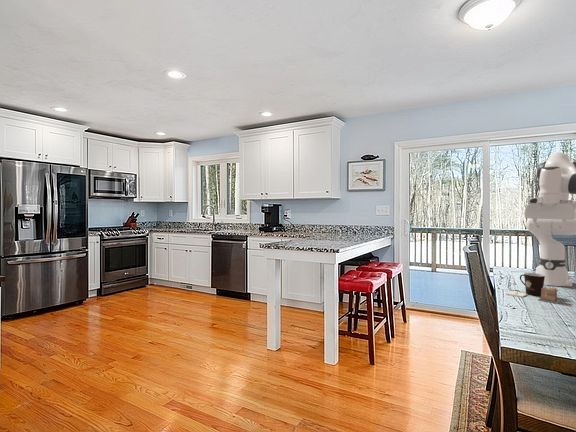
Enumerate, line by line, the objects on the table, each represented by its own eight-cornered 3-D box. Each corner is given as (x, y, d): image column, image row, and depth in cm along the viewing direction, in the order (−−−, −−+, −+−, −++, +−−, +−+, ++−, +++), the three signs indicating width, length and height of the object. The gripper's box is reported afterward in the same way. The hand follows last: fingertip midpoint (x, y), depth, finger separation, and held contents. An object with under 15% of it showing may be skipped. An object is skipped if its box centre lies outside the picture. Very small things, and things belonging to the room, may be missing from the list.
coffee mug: (548, 297, 172) (548, 276, 171) (528, 296, 173) (528, 275, 173) (536, 291, 183) (536, 272, 183) (517, 290, 185) (518, 271, 184)
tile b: (510, 292, 181) (510, 291, 181) (526, 295, 176) (527, 293, 176) (506, 294, 176) (506, 293, 176) (522, 297, 171) (522, 296, 171)
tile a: (542, 297, 170) (542, 296, 170) (560, 300, 165) (560, 299, 165) (538, 300, 166) (538, 299, 166) (556, 303, 160) (556, 302, 160)
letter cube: (544, 297, 169) (544, 286, 169) (556, 299, 165) (557, 288, 165) (541, 299, 165) (541, 288, 165) (554, 301, 162) (554, 290, 161)
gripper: (578, 200, 166) (577, 229, 167) (527, 200, 182) (526, 227, 182) (575, 199, 162) (574, 230, 163) (523, 200, 178) (522, 227, 178)
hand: (548, 228), depth 173 cm, fingers open, 8 cm apart
